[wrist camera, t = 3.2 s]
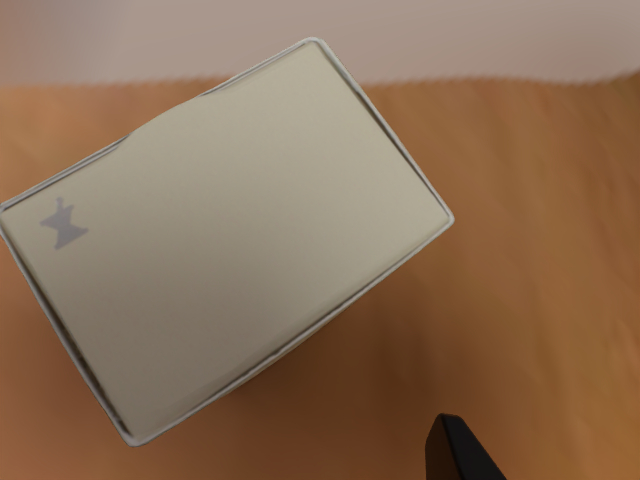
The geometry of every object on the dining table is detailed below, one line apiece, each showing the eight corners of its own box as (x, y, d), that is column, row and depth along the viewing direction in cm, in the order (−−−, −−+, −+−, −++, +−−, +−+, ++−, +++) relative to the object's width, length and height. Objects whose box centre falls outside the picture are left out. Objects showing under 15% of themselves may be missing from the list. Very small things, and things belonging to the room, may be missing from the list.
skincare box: (222, 399, 18) (107, 481, 6) (163, 305, 19) (-44, 218, 7) (356, 303, 19) (474, 220, 8) (296, 219, 20) (317, 19, 8)
